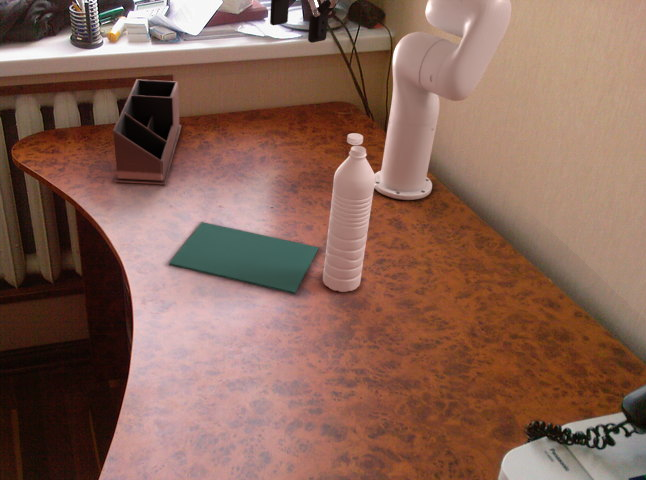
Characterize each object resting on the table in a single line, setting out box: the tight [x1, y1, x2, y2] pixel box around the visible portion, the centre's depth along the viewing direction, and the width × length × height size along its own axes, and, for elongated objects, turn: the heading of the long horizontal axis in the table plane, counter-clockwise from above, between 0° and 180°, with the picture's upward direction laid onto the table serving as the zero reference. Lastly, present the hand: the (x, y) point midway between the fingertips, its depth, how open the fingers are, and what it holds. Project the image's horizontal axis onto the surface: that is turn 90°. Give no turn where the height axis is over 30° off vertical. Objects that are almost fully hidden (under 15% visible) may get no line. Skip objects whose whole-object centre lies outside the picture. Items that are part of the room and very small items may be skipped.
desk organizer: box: [112, 78, 182, 186], centre depth 160 cm, size 10×29×11 cm, turn 179°
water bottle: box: [322, 132, 375, 293], centre depth 121 cm, size 9×6×25 cm
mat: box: [169, 221, 319, 295], centre depth 132 cm, size 15×23×1 cm, turn 72°
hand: (297, 32), depth 117 cm, fingers open, 9 cm apart
